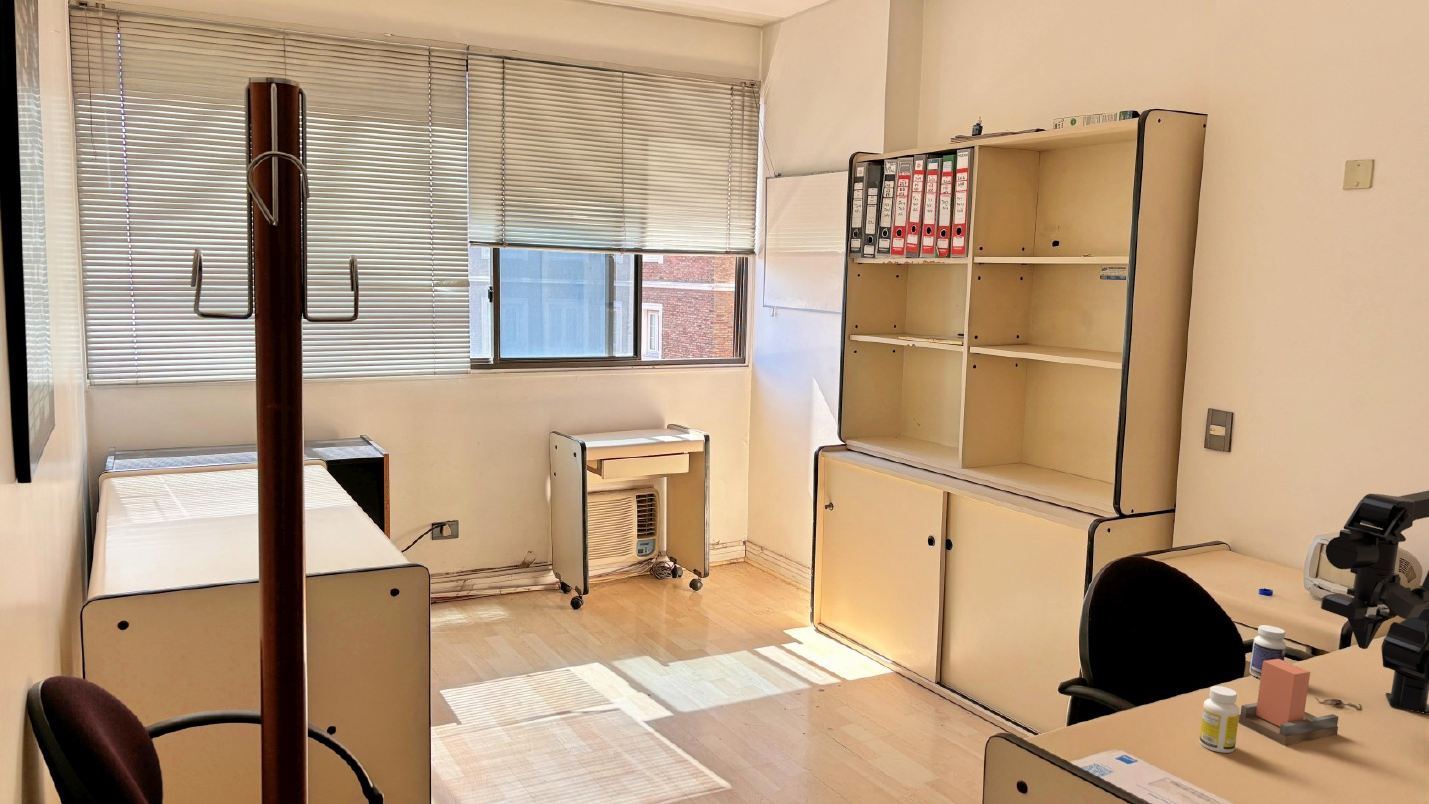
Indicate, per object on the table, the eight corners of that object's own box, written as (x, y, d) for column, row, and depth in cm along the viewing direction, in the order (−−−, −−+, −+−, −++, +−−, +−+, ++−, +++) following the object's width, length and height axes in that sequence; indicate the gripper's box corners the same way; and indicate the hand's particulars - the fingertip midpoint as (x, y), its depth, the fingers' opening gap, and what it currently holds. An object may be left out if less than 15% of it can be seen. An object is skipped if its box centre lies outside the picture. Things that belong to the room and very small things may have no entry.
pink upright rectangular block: (1271, 712, 181) (1278, 658, 179) (1302, 726, 175) (1310, 671, 174) (1255, 715, 179) (1263, 661, 178) (1286, 729, 174) (1294, 674, 172)
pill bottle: (1285, 684, 199) (1292, 635, 198) (1254, 680, 200) (1260, 631, 199) (1275, 673, 205) (1282, 625, 204) (1245, 669, 206) (1251, 622, 205)
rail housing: (1289, 713, 185) (1292, 695, 185) (1336, 734, 177) (1339, 716, 177) (1238, 722, 180) (1240, 703, 179) (1284, 745, 172) (1287, 726, 171)
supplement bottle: (1231, 742, 172) (1239, 687, 170) (1236, 756, 166) (1244, 700, 165) (1196, 736, 173) (1204, 681, 172) (1200, 749, 168) (1208, 693, 167)
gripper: (1387, 582, 171) (1373, 670, 173) (1455, 575, 179) (1441, 659, 181) (1325, 563, 181) (1312, 647, 183) (1391, 557, 189) (1379, 637, 191)
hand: (1362, 648), depth 184 cm, fingers closed
